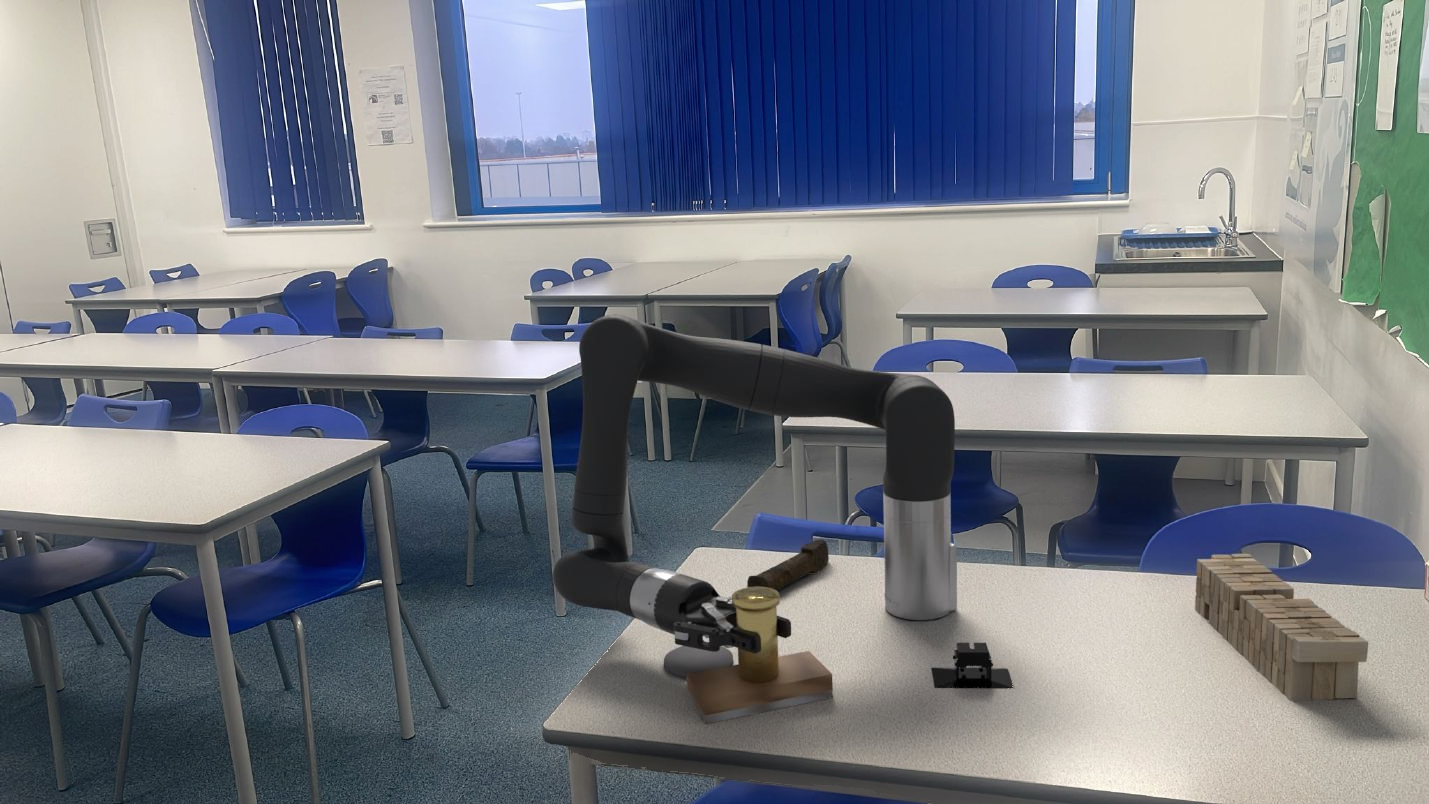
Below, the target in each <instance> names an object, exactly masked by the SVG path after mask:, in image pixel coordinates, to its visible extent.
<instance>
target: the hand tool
mask: <svg viewBox="0 0 1429 804" xmlns="http://www.w3.org/2000/svg"><path fill="white" fill-rule="evenodd" d="M829 557H830V556H829V547H828V544H827V540H824V539H816V540H813V541H811V542H808V543H805V544H804V545H802V546H801V547H800V552H799V553H797V554H795V555H794V556H792V557H789V558H788V559H786V560H784V561H782V562H780V563H778V564H777V565H775V566H772V567H771V568H768V569H766V570H763V571H762V572H760V573H758V574H756V575H749V576H748V579H747V581H746V583H747V585H746V586H747V587H767V588H771V589H774V590H776V591H777V592H779V590H781V589H783V588H784V587H787V586H788V585H790V584H793V583H794V582H796V581H798V580H799V579H800V578H803V577H805V576H806V575H809V574H808V573H816V574H817V573H818V571H819V572H820V571H822V570H823V569H824V568H825V566H827V564H828V563H829ZM747 587H746V588H747Z"/></svg>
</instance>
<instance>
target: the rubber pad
mask: <svg viewBox="0 0 1429 804" xmlns="http://www.w3.org/2000/svg"><path fill="white" fill-rule="evenodd" d="M732 665H734V655H733V653H732V651H731V650H729V648H726V647H724V646H720V650H719V651H716V652H712V651H707V650H702V649H697V648H692V647H687V646H682V645H680V646H678V647H675V648H673V649H672V650H670V651H669V652H668V653H666V654H665V656H664V658H663V666H664V669H665V671H666V672H667V673H668V674H671V675H673V676H675V677H677V678H678V677H679V678H683V679H687V674H690V673H695V672H701V671H706V670H711V669H716V668H722V667H727V666H732Z"/></svg>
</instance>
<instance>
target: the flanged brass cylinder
mask: <svg viewBox="0 0 1429 804" xmlns="http://www.w3.org/2000/svg"><path fill="white" fill-rule="evenodd" d="M731 598H732V604H733V606H734V607H736V623H737V627H739V628H741V629H744V630H748V631H751V632H753V633H756V634H759V635H760V637H761V651H760V652H758V653H756V654H754V653H751V652H748V651H745V650H743V649H739V648H737V658H738V659H737V662H738V665H739V677H740V678H741V679H742V680H743V681H746V682H749V683H767V682H771V681H773V680H775V679H776V678H777V677H778V676H779V660H778V657H779V644H778V643H779V641H778V639H779V636H778V634H777V616H778V613H777V609H778V608H777V606H779V604H780V602H781V601H780V593H779V591H776V590H774V589H771V588H767V587H743V588H741V589H737V590H736V591H734V592H733V593H732V595H731Z"/></svg>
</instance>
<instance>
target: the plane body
mask: <svg viewBox="0 0 1429 804" xmlns="http://www.w3.org/2000/svg"><path fill="white" fill-rule="evenodd" d="M778 660H779V676H778V677H777V678H776V679H775V680H773V681H771V682H767V683H749V682H746V681H743V680H742V679H741V678H740V677H739V665H738V664H733V665H732V666H727V667H722V668H716V669H711V670H706V671H701V672H695V673H690V674H687V678H686V687H687V698H688V700H689V701H690V703H691V705H693V708H694V709H695V711H696V712H697V713H698V715H699V716H700V718H701V720H702V721H703V723H704V724H706V725H707V724H711V723H716V722H720V721H725V720H730V719H734V718H739V717H740V718H741V717H744V716H749V715H754V714H758V713H759V714H760V713H763V712H768V711H773V710H778V709H783V708H787V707H788V708H789V707H793V706H797V705H798V706H799V705H802V704H807V703H808V704H809V703H813V702H818V701H822V700H826V699H827V700H828V699H831V698H834V693H833V692H834V690H833V684H834V683H833V674H832V672H831V671H830V670H829V669H828V668H827V667H826V666H825V665H824V664H823V663H822V662H821V661H820V660H819V659H818V658H817V657H816V656H815V655H814V654H813V653H812V652H811V651H810V650H806V651H802V652H796V653H791V654H785V655H778Z"/></svg>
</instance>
